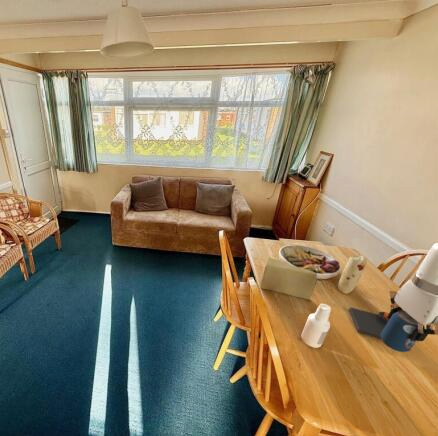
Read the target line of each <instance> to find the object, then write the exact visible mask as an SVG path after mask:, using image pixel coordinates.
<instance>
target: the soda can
mask: <svg viewBox="0 0 438 436" xmlns="http://www.w3.org/2000/svg"><path fill="white" fill-rule="evenodd" d="M424 328H425V329H426V325H424ZM414 330H418V321H416V320H415V319H414V318H413V317H411V316H410V315H409V314H408V313H407V312H406V311H404V310H403V309H402V310H399V311H398V312H396V313H394V314H393V315H392V316H391V318H390V319H389V321H388V323H387V324H386V326H385V328H384V329H383V331H382V333H381V339H380V340H381V342H382V343H383V344H384V345H385V346H386V347H388V348H389V349H391V350H394V351H395V352H397V353H406V352H407V353H408V352H410V351H411V350H412V348H413V347H414V346H415V344H416V343H417V341H411V340H410V339H409V337H410V336H411V334H412V333H413V332H414Z"/></svg>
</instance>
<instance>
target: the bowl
mask: <svg viewBox="0 0 438 436" xmlns="http://www.w3.org/2000/svg"><path fill="white" fill-rule="evenodd" d="M278 257H279V261H281V262H284V263H286V264H290V265H293V266H296V267H299V268H303V269H306V270H310V271H313V272H315V273H316V274H317V278H316V280H327V279H332V278H335V277H336V276H337V275H338V274H339V273H340V271H341V265H340V262H339V261H337V259H336V258H334V257H333V256H331V255H330V254H328V253H326V252H324V251H322V250H319V249H317V248H315V247H310V246H306V245H301V244H288V245H284V246H282V247H281V248H280V249H279V252H278Z"/></svg>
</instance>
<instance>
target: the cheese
mask: <svg viewBox="0 0 438 436" xmlns="http://www.w3.org/2000/svg"><path fill="white" fill-rule="evenodd" d="M316 278H317V274H316V273H315V272H313V271H310V270H306V269H303V268H299V267H296V266H293V265H290V264H286V263H284V262H282V261H281V260H280V259H279V260H278V259H276V258H273V257H270V256H268V257H266V260H265V264H264V269H263V272H262V276H261V279H260V284H259V288H260V289H262V290H267V291H272V292H277V293H280V294H281V293H282V294H285V295H289V296H293V297H297V298H299V299H305V300H311V298H312V297H313V296H312V295H313V294H314V291H315V288H316V283H317V279H316Z"/></svg>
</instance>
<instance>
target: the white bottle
mask: <svg viewBox="0 0 438 436" xmlns="http://www.w3.org/2000/svg"><path fill="white" fill-rule="evenodd" d="M331 312H332V308H331V306H330V305H328V304H326V303H319V306H318V307H317V308H316V310H315V312H314V313H310V314H309V315H308V317H307V319H306V321H305V325H304V326H303V329H302V331H301V335H300V337H301V340H302V342H303V343H304V344H306V345H307V346H309V347H311V348H315V349H316V348H317V349H318V348H321V346H322V345H323V343H324V340H325V339H326V337H327V334H328V332H329V330H330V328H331V322H330V321H329V317H330V315H331Z"/></svg>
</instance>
